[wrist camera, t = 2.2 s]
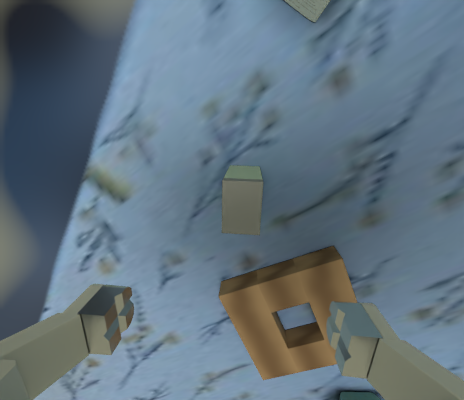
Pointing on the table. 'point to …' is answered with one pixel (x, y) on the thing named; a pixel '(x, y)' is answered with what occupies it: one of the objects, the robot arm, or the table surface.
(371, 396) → the flower pot
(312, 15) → the skincare box
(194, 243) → the table surface
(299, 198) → the table surface
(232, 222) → the keyed peg
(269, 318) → the walnut slot block
